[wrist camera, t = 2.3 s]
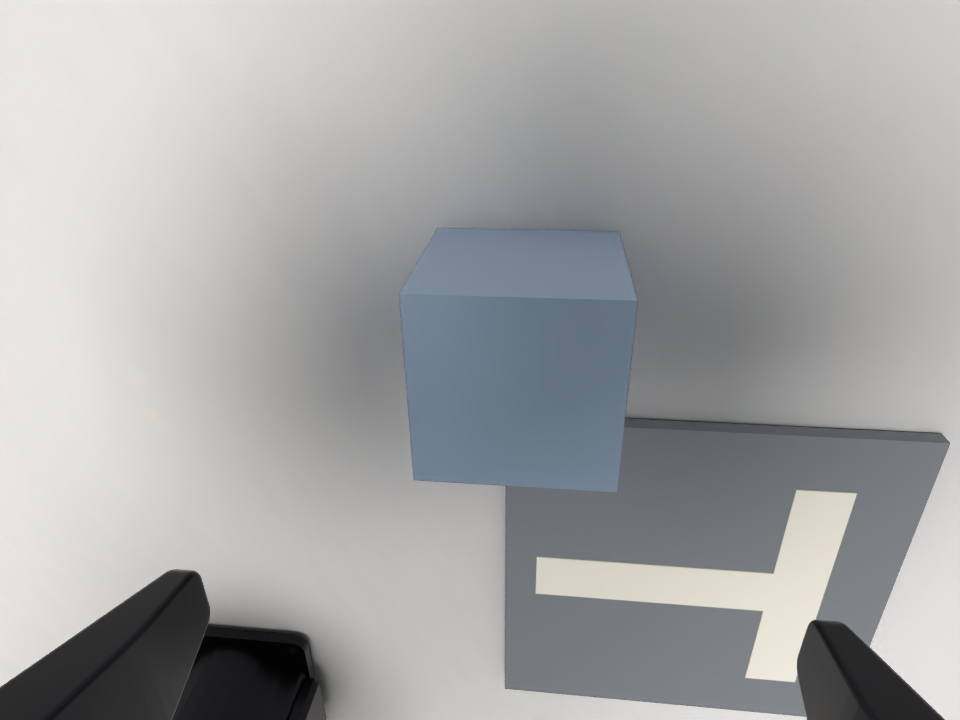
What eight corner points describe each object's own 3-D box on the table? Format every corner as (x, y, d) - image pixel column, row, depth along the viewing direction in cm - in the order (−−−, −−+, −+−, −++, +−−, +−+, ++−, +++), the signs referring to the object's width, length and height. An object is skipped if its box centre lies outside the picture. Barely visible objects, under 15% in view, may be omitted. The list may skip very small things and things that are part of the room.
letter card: (505, 677, 27) (504, 689, 26) (507, 413, 21) (506, 421, 20) (835, 707, 25) (840, 720, 25) (941, 433, 19) (950, 443, 19)
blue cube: (445, 381, 20) (414, 479, 16) (438, 227, 18) (399, 293, 14) (604, 388, 20) (616, 492, 16) (618, 229, 18) (637, 300, 13)
